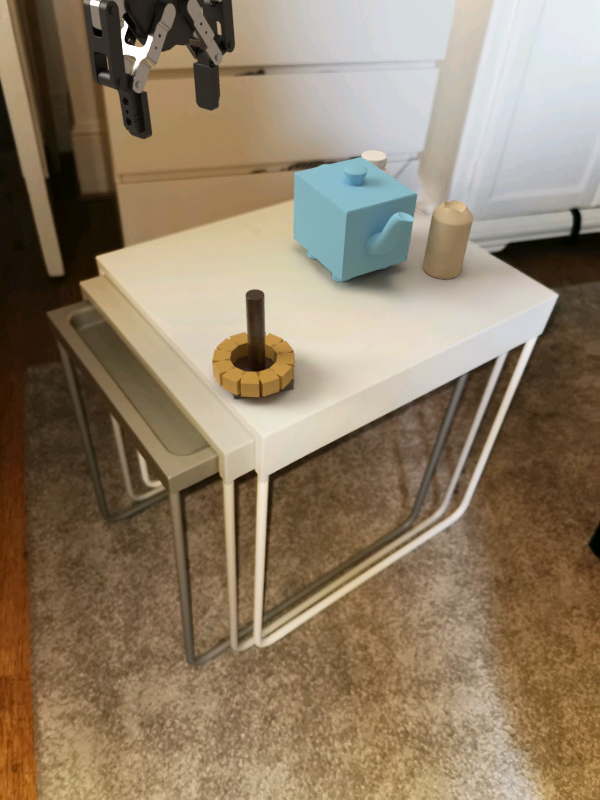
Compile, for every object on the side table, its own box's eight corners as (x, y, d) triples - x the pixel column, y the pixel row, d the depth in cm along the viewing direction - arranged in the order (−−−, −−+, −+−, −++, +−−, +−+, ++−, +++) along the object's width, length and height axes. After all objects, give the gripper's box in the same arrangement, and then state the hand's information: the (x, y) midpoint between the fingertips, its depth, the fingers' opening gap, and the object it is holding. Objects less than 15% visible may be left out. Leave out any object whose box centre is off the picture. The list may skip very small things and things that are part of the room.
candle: (449, 283, 90) (464, 218, 83) (415, 270, 92) (426, 205, 85) (467, 267, 93) (482, 203, 86) (434, 254, 95) (446, 191, 88)
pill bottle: (369, 219, 103) (374, 165, 97) (346, 207, 106) (350, 154, 99) (391, 209, 105) (398, 156, 99) (367, 197, 108) (373, 145, 102)
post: (233, 399, 72) (228, 318, 64) (222, 360, 77) (216, 280, 69) (293, 388, 73) (295, 308, 65) (278, 351, 78) (279, 272, 70)
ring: (233, 407, 69) (232, 393, 68) (202, 357, 75) (200, 344, 74) (308, 382, 72) (308, 368, 71) (272, 336, 78) (272, 323, 77)
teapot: (284, 239, 97) (284, 150, 88) (344, 223, 102) (351, 135, 92) (365, 315, 84) (377, 219, 74) (432, 292, 88) (451, 198, 79)
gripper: (181, -122, 51) (198, 91, 62) (34, -110, 43) (84, 135, 54) (254, -114, 48) (258, 109, 59) (112, -99, 40) (147, 158, 51)
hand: (175, 121), depth 57 cm, fingers open, 8 cm apart
